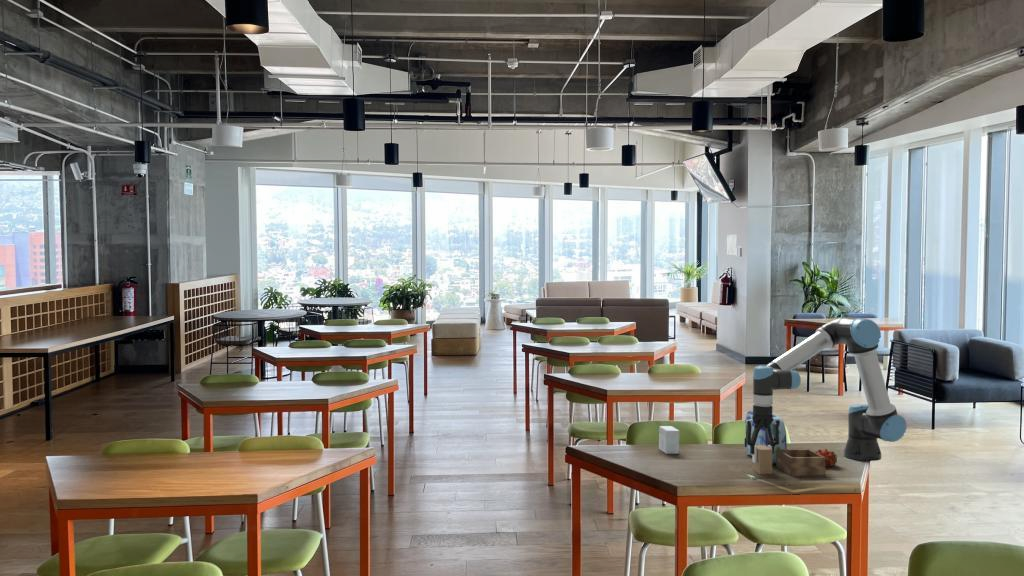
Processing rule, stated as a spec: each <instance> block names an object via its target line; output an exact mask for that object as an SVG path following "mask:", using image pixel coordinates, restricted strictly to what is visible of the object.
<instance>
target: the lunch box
mask: <svg viewBox="0 0 1024 576" xmlns="http://www.w3.org/2000/svg"><path fill="white" fill-rule="evenodd" d="M746 412H747V413H746V416H745V417H746V418H745V419H744V422H745V420H750V419H752V417H753V410H751V411H746ZM772 417H773V419H777V420H779V421H780V423H779V444H778V445H775V447H774V454H772V465H774V464H775V465H776V458H777V450H784V449H787V446H788V445H787V431H786V430H787V429H786V425H785V422H784V419H782V417H780V416H778V415H776V414H775V413H774V412H772ZM744 424H745V425H744V426H745V430H746V422H745V423H744ZM754 426H755V424H754V422H752V425H751V427H752V428H751V438H752V435H753V431H754ZM770 428H771V433H772V437H773V440H774V434H773V422H772V423H771V424H770ZM755 445H765V446H767V447H768V445H770V444H769V440H768V437H767V433H766V430H765V428H761V429H760V431H759V433H758V437H757V440H756V443H755ZM744 448H746V452H747V455H748V456H750V457H752V454H751V453H750V445H748V444H746V437H745V438H744Z"/></svg>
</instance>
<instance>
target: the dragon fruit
mask: <svg viewBox="0 0 1024 576" xmlns="http://www.w3.org/2000/svg"><path fill="white" fill-rule="evenodd" d="M815 452H816V453H818V454H820V455H822V456H823V457H825V469H827V468H829V467H832V466H837V462H838V460H837V459H838V457H837V456H838V455H837V454H836V453H835V452H834V451H832V450H830V451H829V450H828V449H827V448H824V449H823V450H822V449H818V450H817V451H815Z"/></svg>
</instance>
